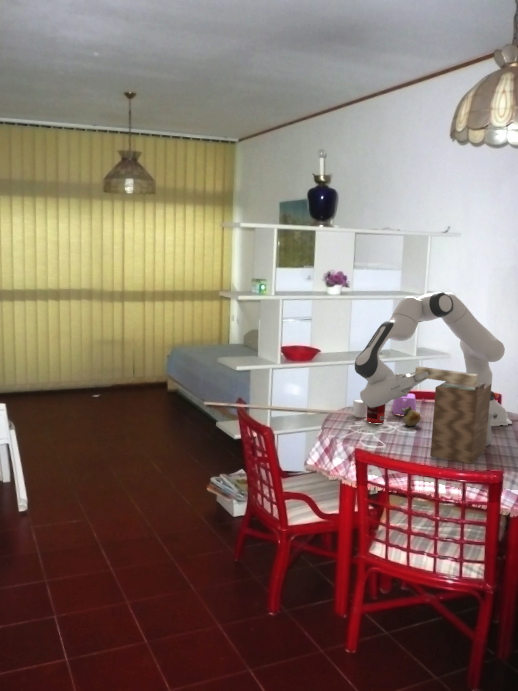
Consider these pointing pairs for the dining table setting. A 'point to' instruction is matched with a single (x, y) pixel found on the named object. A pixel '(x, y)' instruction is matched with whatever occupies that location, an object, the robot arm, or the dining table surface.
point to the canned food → (376, 414)
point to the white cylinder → (359, 408)
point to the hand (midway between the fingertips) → (430, 372)
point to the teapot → (404, 404)
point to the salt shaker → (489, 431)
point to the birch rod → (448, 375)
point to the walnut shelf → (460, 421)
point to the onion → (411, 417)
